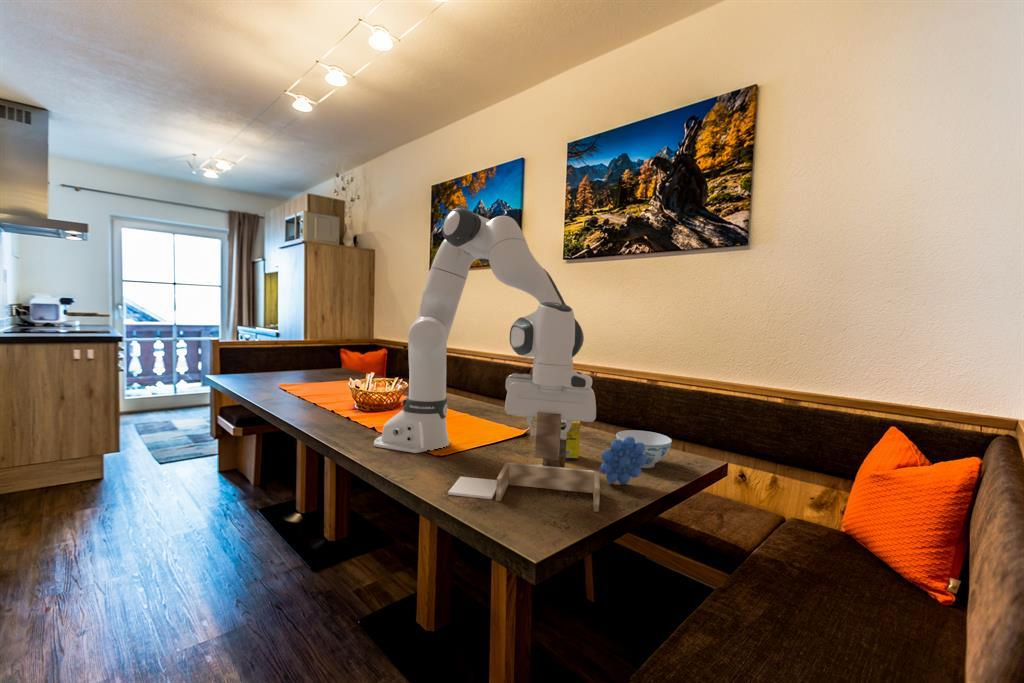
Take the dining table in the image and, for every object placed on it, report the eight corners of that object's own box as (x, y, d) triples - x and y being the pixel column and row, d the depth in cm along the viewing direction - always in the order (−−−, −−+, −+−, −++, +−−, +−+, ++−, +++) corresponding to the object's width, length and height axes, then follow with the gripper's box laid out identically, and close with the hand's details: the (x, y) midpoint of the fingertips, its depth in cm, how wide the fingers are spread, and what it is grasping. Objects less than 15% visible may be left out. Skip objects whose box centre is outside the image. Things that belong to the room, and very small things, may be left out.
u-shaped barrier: (495, 500, 98) (496, 478, 98) (504, 482, 109) (505, 462, 109) (598, 511, 95) (599, 488, 94) (597, 491, 106) (598, 471, 105)
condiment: (561, 464, 125) (563, 421, 124) (573, 475, 116) (575, 429, 116) (536, 465, 123) (538, 422, 122) (546, 476, 115) (548, 430, 114)
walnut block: (534, 457, 99) (537, 412, 98) (537, 451, 104) (540, 408, 103) (557, 460, 98) (560, 414, 98) (559, 453, 103) (561, 410, 102)
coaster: (448, 494, 100) (448, 492, 100) (460, 478, 110) (460, 476, 110) (491, 499, 99) (492, 496, 99) (500, 483, 109) (500, 480, 109)
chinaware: (677, 463, 129) (678, 437, 129) (659, 477, 117) (661, 448, 117) (627, 452, 138) (628, 427, 138) (606, 464, 126) (607, 437, 126)
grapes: (639, 478, 116) (642, 432, 115) (649, 488, 109) (651, 439, 108) (594, 477, 115) (597, 431, 114) (601, 487, 108) (603, 438, 108)
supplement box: (579, 461, 128) (580, 422, 127) (557, 460, 128) (559, 422, 127) (576, 454, 134) (578, 418, 133) (556, 453, 134) (558, 417, 133)
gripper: (503, 374, 99) (500, 436, 99) (598, 381, 95) (594, 446, 96) (508, 370, 105) (505, 429, 106) (598, 377, 101) (594, 438, 102)
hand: (548, 437), depth 101 cm, fingers closed on walnut block, 5 cm apart
